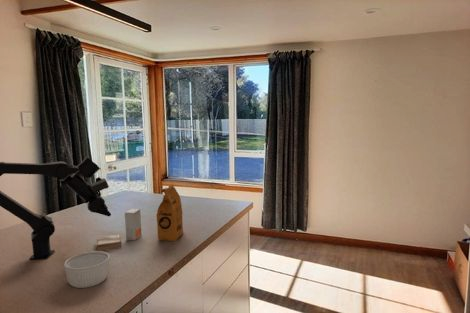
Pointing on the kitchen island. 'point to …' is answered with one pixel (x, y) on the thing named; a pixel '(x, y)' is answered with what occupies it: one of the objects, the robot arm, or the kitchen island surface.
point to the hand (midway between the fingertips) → (108, 212)
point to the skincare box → (133, 224)
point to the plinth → (108, 242)
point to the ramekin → (87, 268)
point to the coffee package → (170, 215)
